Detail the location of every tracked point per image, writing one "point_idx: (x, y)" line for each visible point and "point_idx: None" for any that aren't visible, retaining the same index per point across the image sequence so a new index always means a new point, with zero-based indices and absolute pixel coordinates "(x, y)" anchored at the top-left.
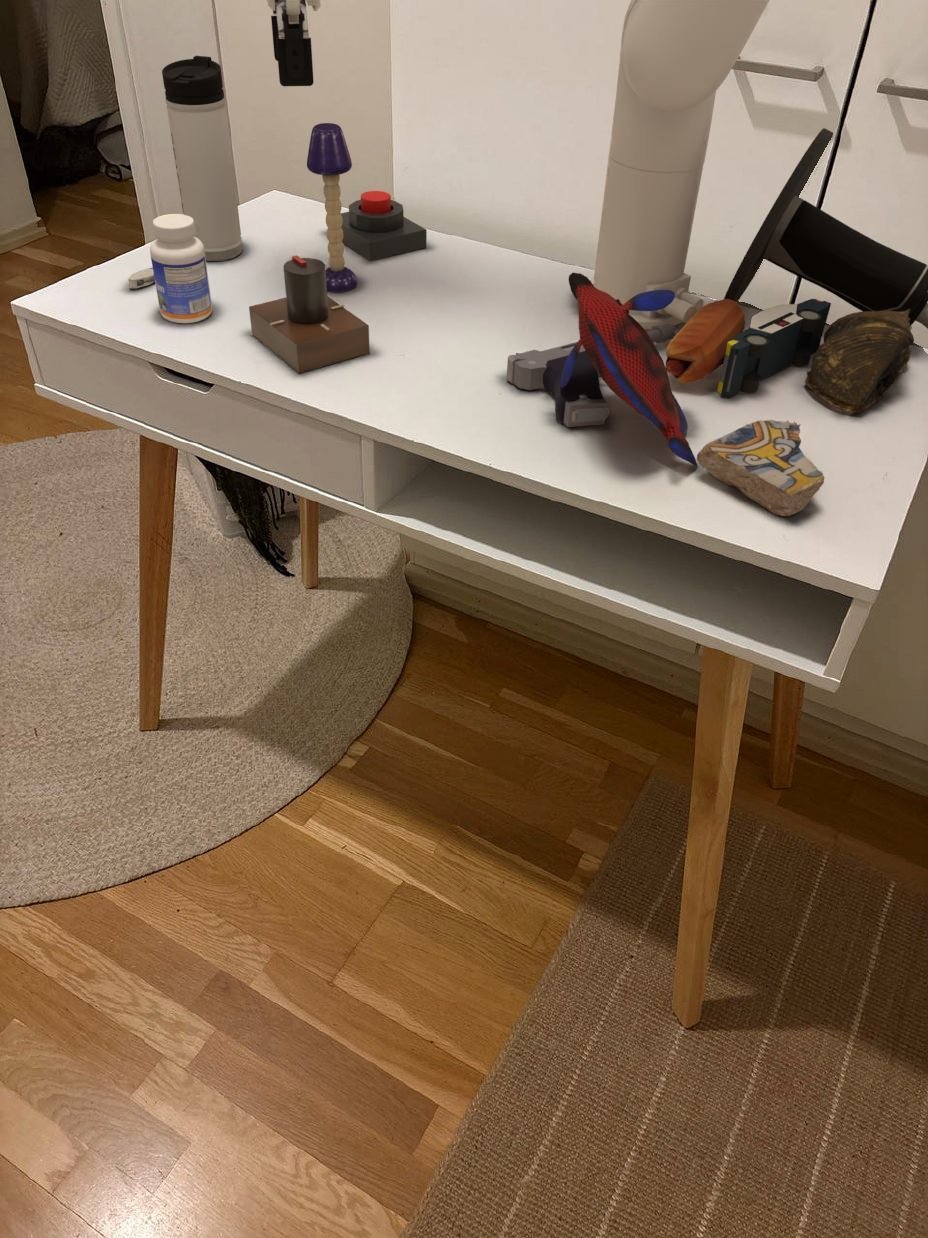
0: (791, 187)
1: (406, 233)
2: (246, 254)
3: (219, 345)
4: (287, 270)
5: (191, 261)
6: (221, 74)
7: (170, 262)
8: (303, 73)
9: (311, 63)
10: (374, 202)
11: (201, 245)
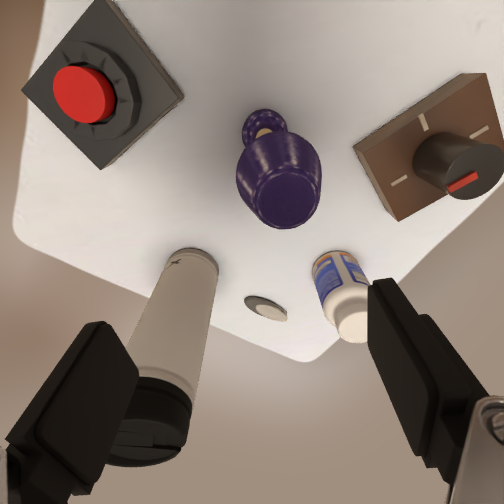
0: None
1: (129, 35)
2: (193, 243)
3: (403, 233)
4: (485, 192)
5: None
6: None
7: None
8: (429, 318)
9: (418, 317)
10: (105, 96)
11: (356, 290)
